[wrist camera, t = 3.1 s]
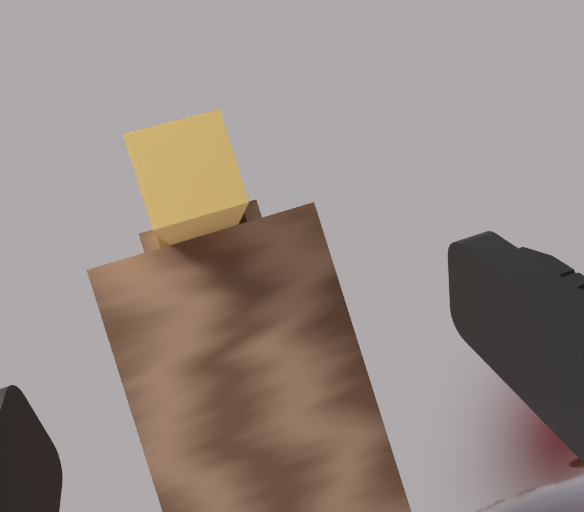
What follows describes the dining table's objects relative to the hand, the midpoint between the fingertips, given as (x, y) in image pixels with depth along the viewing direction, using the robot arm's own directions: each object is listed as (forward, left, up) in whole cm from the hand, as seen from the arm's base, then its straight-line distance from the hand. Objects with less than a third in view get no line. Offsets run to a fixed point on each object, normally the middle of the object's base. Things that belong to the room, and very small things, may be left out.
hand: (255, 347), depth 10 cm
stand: (0, -24, -28) cm, 37 cm away
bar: (0, -20, +4) cm, 20 cm away
